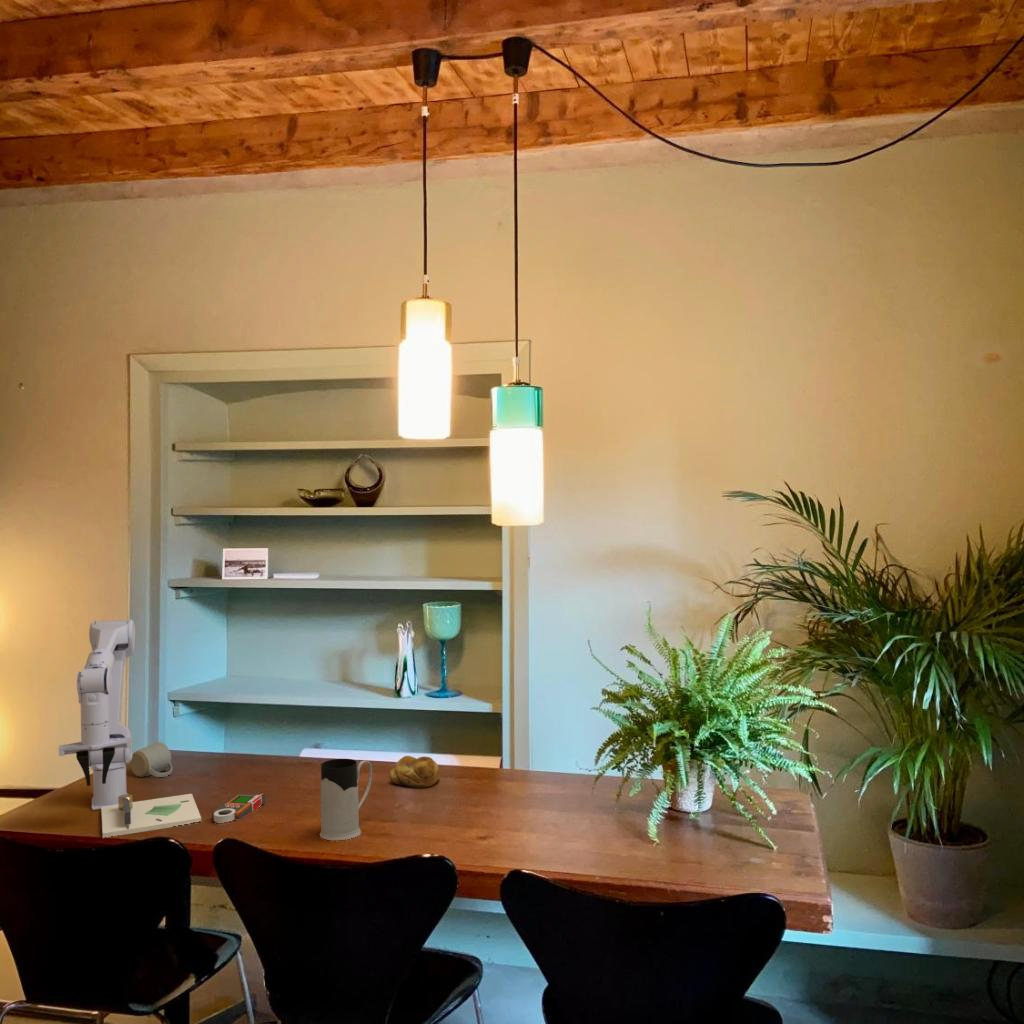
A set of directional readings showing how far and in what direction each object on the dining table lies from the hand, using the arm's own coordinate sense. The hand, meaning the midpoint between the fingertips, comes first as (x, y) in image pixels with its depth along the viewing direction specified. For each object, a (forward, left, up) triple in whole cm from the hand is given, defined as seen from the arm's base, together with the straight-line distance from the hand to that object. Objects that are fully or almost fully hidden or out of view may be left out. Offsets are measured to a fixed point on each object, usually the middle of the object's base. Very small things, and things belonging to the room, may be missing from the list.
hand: (96, 783), depth 198 cm
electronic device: (+6, +29, -10) cm, 31 cm away
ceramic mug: (-38, +14, -10) cm, 41 cm away
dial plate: (-1, +11, -9) cm, 15 cm away
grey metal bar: (0, +6, -8) cm, 10 cm away
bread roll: (+5, +73, -10) cm, 73 cm away
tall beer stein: (+30, +49, -10) cm, 58 cm away
